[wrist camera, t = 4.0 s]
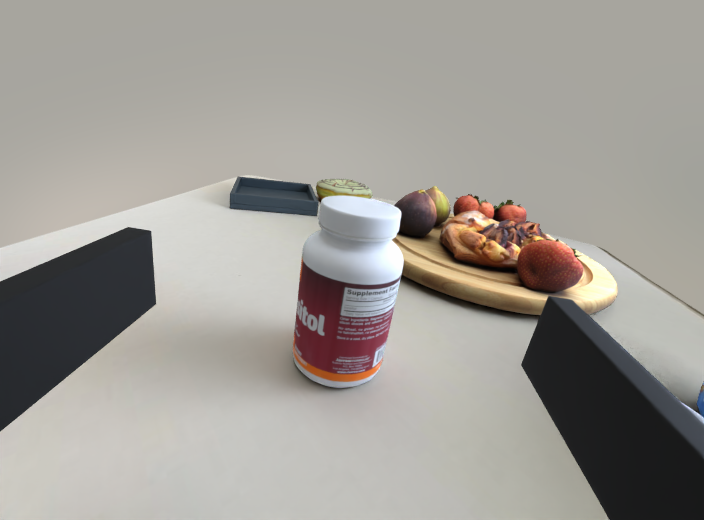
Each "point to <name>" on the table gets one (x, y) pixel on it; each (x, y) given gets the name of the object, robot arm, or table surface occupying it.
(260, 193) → the tray
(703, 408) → the snack cup
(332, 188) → the decorated donut
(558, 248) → the wooden plate
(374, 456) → the table surface
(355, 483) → the table surface
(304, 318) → the pill bottle
